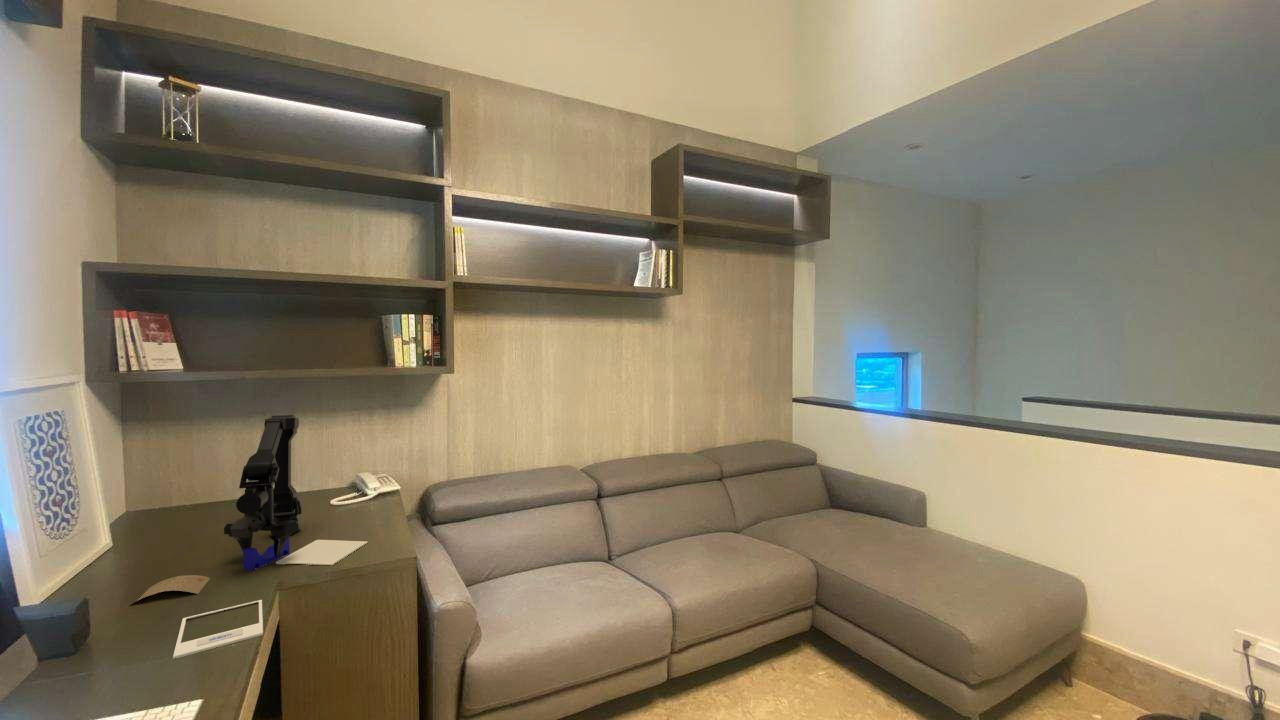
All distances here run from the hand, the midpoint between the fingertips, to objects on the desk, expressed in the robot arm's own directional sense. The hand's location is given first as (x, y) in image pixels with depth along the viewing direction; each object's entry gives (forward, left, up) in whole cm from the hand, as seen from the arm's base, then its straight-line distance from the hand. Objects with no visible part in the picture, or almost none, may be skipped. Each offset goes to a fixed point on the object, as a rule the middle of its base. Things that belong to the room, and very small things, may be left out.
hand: (262, 556), depth 150 cm
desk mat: (+14, +7, -1) cm, 16 cm away
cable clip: (+1, 0, -2) cm, 2 cm away
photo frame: (+19, -33, -2) cm, 39 cm away
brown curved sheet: (-8, -19, -2) cm, 21 cm away
